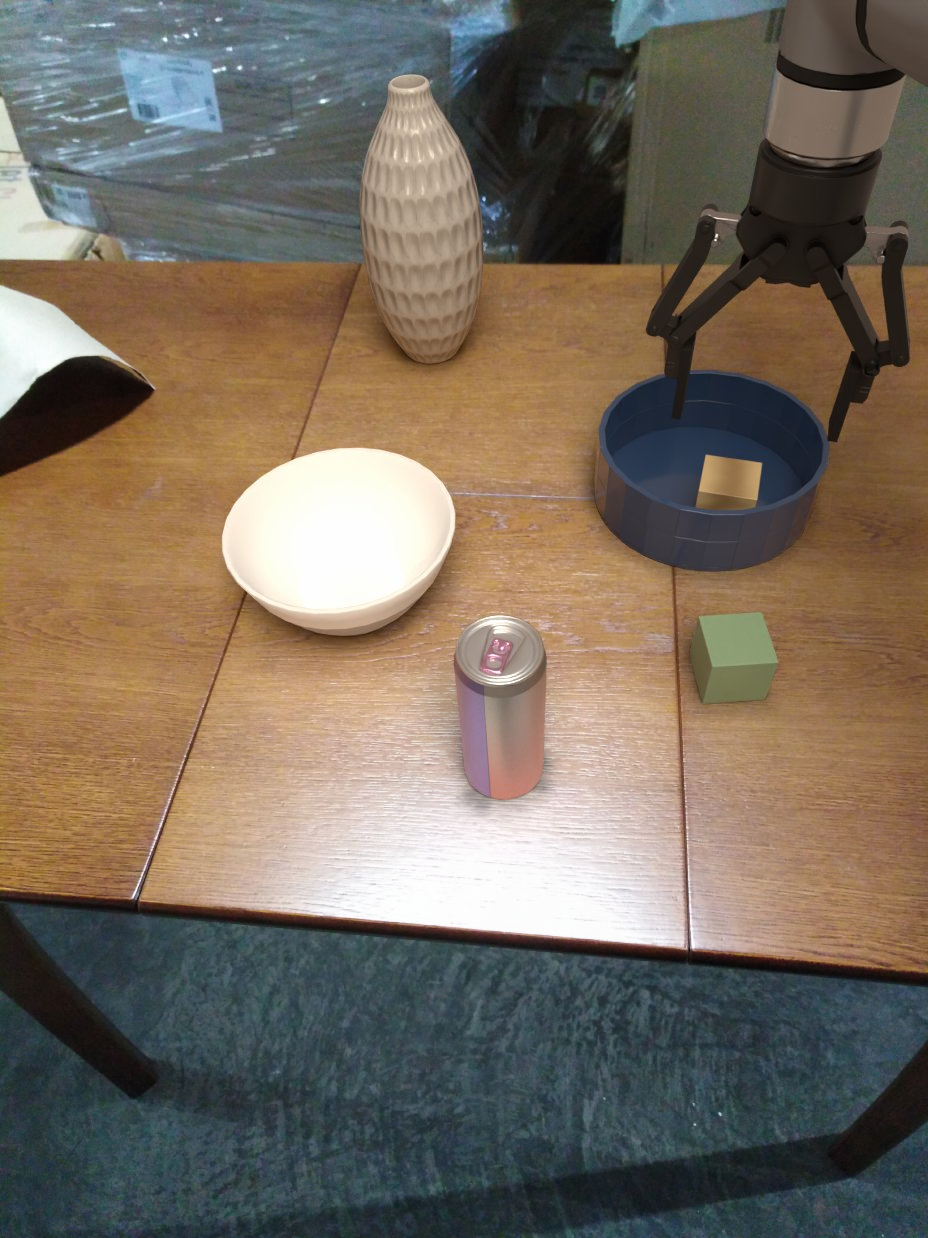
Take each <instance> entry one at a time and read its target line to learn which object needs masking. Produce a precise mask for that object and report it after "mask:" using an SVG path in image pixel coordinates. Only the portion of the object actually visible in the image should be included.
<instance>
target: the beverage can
mask: <svg viewBox="0 0 928 1238" xmlns="http://www.w3.org/2000/svg"><path fill="white" fill-rule="evenodd" d="M547 665H548V656H547V652H546V649H545V646H544V640H543V638H542V636H541V634H540V633H539V631H538V630H537V629H536V628H535V627H534V626H533V625H532V624H530V623H529V622H528V621H526V620H524V619H522V618H519V617H517V616H514V615H513V616H512V615H509V614H494V615H488V616H484V617H481V618H479V619H477V620H475V621H473V622H472V623H469V625H468V626H466V627H465V628H464V629H463V630H462V632H461V633H460V634H459V636H458V639H457V641H456V645H455V650H454V653H453V670H454V680H455V681H454V682H455V689H456V698H457V709H458V719H459V728H460V729H459V730H460V738H461V740H460V741H461V749H462V758H463V766H464V773H465V776H466V778H467V780H468V782H469V783H470V785H471V786H472V787H473V788H474V789H475V790H476V791H478V792H479V793H481V794H482V795H484V796H486V797H488V798H492V799H495V800H512V799H516V798H519V797H522V796H524V795H525V794H527V793H529V792H531V791H532V790H533V789H534V788H535V787H536V786H537V784H538V783H539V782H540V779H541V777H542V775H543V771H544V760H545V731H546V730H545V729H546V728H545V727H546V699H547V698H546V697H547V669H548V666H547Z"/></svg>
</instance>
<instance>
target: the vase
mask: <svg viewBox="0 0 928 1238" xmlns="http://www.w3.org/2000/svg"><path fill="white" fill-rule="evenodd" d="M362 167H363V168H362V172H361V179H360V186H359V187H360V189H359V204H358V205H359V211H358V212H359V213H358V214H359V227H360V239H361V247H362V255H363V262H364V267H365V271H366V276H367V280H368V284H369V287H370V291H371V294H372V297H373V300H374V303H375V306H376V308H377V310H378V313H379V315H380V317H381V319H382V321H383V324H384V325H385V327H386V328H387V331H388V332H389V334H390V335H391V337H392V338H393V340H394V342H396V344H397V345H398V346H399V347H400V349H402V351H403V352H404V354H406V355H407V356H408V357H409V358H410V359H411V360H413V361H414V362H416V363H417V362H418V363H420V364H425V365H426V364H427V365H433V364H435V365H436V364H440V363H443V362H446V361H448V360H450V359H451V358H453V357H454V356H456V354H457V353H458V351H459V349H460V348H461V346H462V345H463V343H464V341H465V340H466V338H467V336H468V334H469V332H470V329H471V327H472V324H473V321H474V319H475V316H476V313H477V310H478V305H479V301H480V298H481V297H480V296H481V291H482V283H483V276H484V275H483V274H484V255H485V253H484V252H485V249H484V227H483V213H482V205H481V200H480V195H479V191H478V186H477V182H476V178H475V175H474V172H473V169H472V165H471V162H470V160H469V157H468V155H467V151H466V150H465V147H464V146H463V144H462V142H461V140H460V138H459V136H458V134H457V133H456V131H455V130H454V128H453V127H452V125H451V123H450V122H449V121H448V119H447V118H446V115H445V114H444V113H443V111H442V110H441V109H440V106H439V105H438V103H437V102H436V100H435V98H434V96H433V92H432V89H431V83H430V81H429V79H428V78H426V77H425V76H424V75H421V74H403V75H399V76H396V77H394V78H393V79H391V80H390V81H389V82H388V84H387V100H386V104H385V107H384V108H383V110H382V114H381V116H380V117H379V120H378V123H377V124H376V126H375V130H374V132H373V135H372V137H371V140H370V142H369V145H368V148H367V151H366V154H365V158H364V163H363V166H362Z"/></svg>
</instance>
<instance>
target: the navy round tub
mask: <svg viewBox="0 0 928 1238" xmlns="http://www.w3.org/2000/svg"><path fill="white" fill-rule="evenodd" d="M676 385H677V379H672V378H666V377H665V373H662V374H657V375H655V376H651V377H649V378H646V379H644V380H641V381H638V382H636V383H633V384H632V385H631V386H630V387H628V388H627V389H625V390H623V391H622V392H621V393H619V394H618V395H616V396H615V398H614V399H613V400H612V401H611V403H610V404H609V405H608V406H607V408H605V410H604V411H603V414H602V417H601V420H600V422H599V426H598V430H597V440H596V441H597V442H596V454H595V464H594V465H595V467H594V468H595V469H594V479H593V486H594V494H593V495H594V501H595V505H596V508H597V510H598V513H599V515H600V517H601V519H602V520H603V522H604V524H605V525H606V526H607V528H608V529H609V531H610V532H612V533H613V535H615V536H616V538H617V539H619V540H620V541H621V542H622V543H623V544H625V545H626V546H628V547H629V548H630V549H632V550H634V551H635V552H637V553H639V554H641V555H642V556H644V557H647V558H648V559H652V560H654V561H656V562H658V563H662V564H664V565H668V566H671V567H676V568H680V569H684V570H692V571H697V572H698V571H699V572H729V571H737V570H744V569H747V568H750V567H751V568H752V567H755V566H758V565H761V564H763V563H766V562H769V561H770V560H773V559H774V558H776V557H778V556H779V555H782V554H783V553H784V552H786V551H787V550H788V549H790V548H791V547H792V546H793V545H794V544H795V543H796V542H797V541H798V540H799V538H800V537H801V536H802V534H803V533H804V532H805V529H806V527H807V524H808V522H809V520H810V519H811V516H812V513H813V511H814V508H815V505H816V501H817V499H818V497H819V493H820V490H821V488H822V484H823V481H824V478H825V475H826V472H827V470H828V467H829V464H830V463H829V462H830V449H831V442H830V441H827V437H828V433H827V431H826V428H825V426H824V424H823V423H822V422H821V420H820V418H819V417H817V415H816V413H815V412H814V411H813V410H812V409H811V407H809V405H807V404H806V403H805V402H803V401H802V400H801V399H799V397H797V396H795V395H794V394H793V393H791V392H790V391H788V390H786V389H784V388H782V387H780V386H777V385H776V384H773V383H772V382H770V381H768V380H764V379H761V378H757V377H754V376H750V375H747V374H744V373H740V372H734V371H733V372H732V371H725V370H718V369H690V375H689V381H688V387H687V393H686V399H685V403H684V407H683V411H682V415H681V419H674V418H671V417H672V410H673V404H674V397H675V391H676ZM706 455H712V456H719V457H725V458H732V459H739V460H746V461H753V462H760V463H762V469H761V476H760V484H759V491H758V498H757V503H756V507H754V508H749V509H744V510H709V509H703V508H697V507H695V506H696V500H697V495H698V490H699V485H700V480H701V475H702V470H703V466H704V461H705V456H706Z"/></svg>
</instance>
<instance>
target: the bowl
mask: <svg viewBox="0 0 928 1238" xmlns="http://www.w3.org/2000/svg"><path fill="white" fill-rule="evenodd" d="M456 516H457V513H456V509H455V504H454V502H453V498H452V496H451V495H450V492H449V491H448V489H447V488H446V486H445V484H444V483H443V481H442V480H441V479H439V478H438V477H437V476H436V475H435V473H433V471H432V470H430V469H429V468H427V467H426V466H424V465H423V464H422V463H419V462H418V461H416V460H415V459H414V460H413V459H412V458H410V457H407V456H404V455H402V454H399V453H396V452H391V451H387V450H383V449H380V448H379V449H378V448H369V447H340V448H339V447H337V448H333V449H327V450H321V451H316V452H313V453H309V454H305V455H302V456H299V457H296V458H294V459H292V460H289V461H287V462H285V463H283V464H280V465H278V466H276V467H274V468H273V469H272V470H270V471H269V472H267V473H265V474H263V475H262V476H260V477H259V478H258V479H256V480H255V481H254V482H253V483H252V484H251V485H249V486H248V487H247V488H246V489H245V490H244V492H242V494H241V495H240V496H239V497H238V498H237V500H236V501H235V503H233V505H232V507H231V509H230V511H229V513H228V515H227V517H226V519H225V522H224V527H223V532H222V534H221V552H222V553H221V554H222V557H223V559H224V562H225V566H226V569H227V571H228V572H229V574H230V575H231V577H232V579H234V581H235V583H236V584H237V585H238V586H240V587H241V588H242V589H243V590H244V591H245V592H246V593H247V594H248V595H249V596H251V597H252V599H254V600H255V601H256V602H257V603H259V605H261V606H262V608H264V609H265V610H267V611H268V612H269V613H270V614H272V615H274V616H276V617H278V618H279V619H282V620H283V621H285V622H288V623H290V624H292V625H294V626H298V627H300V628H303V629H305V630H307V631H311V632H314V633H317V634H322V635H329V636H338V637H339V636H340V637H346V636H347V637H349V636H351V637H352V636H353V637H354V636H359V635H364V634H365V635H366V634H368V633H371V632H374V631H377V630H379V629H381V628H384V627H385V626H387V625H389V624H390V623H392V622H394V621H396V620H398V618H401V616H403V615H404V614H406V612H408V611H409V610H410V609H411V608H412V607H413V606H414V604H416V603H417V601H419V600H420V598H421V597H422V596H423V595H424V594H425V593H426V591H427V590H428V589H429V588H430V587H431V586H432V585H433V583H434V582H435V579H436V578H437V576H438V575H439V573H440V571H441V569H442V567H443V565H444V563H445V560H446V558H447V556H448V553H449V552H450V549H451V546H452V542H453V539H454V536H455V533H456V526H457V525H456V524H457V521H456V520H457V519H456Z"/></svg>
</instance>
